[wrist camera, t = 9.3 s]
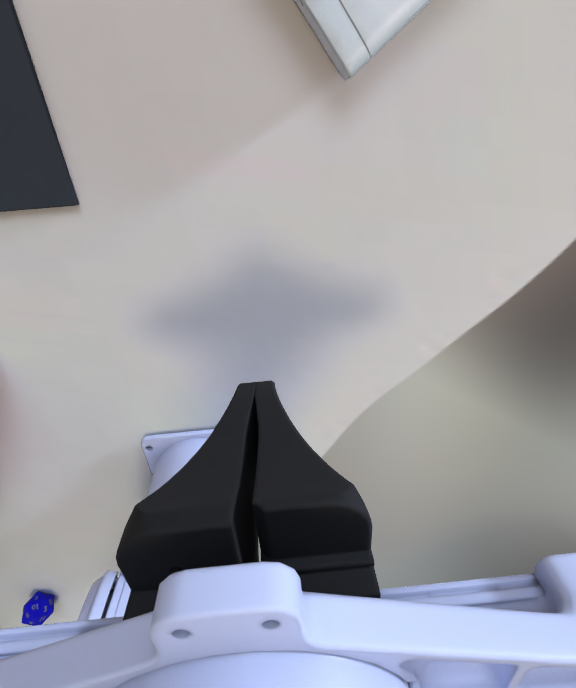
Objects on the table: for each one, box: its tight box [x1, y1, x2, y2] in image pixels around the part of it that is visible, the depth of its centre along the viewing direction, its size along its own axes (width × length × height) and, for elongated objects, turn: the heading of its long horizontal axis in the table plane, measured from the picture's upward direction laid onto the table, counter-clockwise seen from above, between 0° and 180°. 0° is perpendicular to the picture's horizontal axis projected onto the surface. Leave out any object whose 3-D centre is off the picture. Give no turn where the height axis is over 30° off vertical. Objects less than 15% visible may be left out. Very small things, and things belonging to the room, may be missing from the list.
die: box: [22, 592, 54, 626], centre depth 37 cm, size 3×3×3 cm
